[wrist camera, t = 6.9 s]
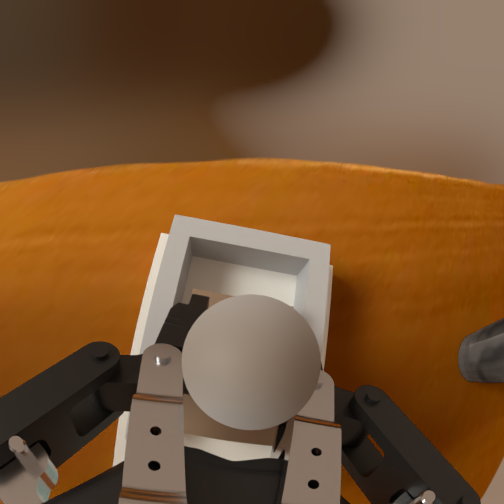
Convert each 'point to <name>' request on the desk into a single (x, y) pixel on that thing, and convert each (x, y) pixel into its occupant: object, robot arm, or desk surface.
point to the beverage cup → (483, 354)
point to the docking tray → (231, 293)
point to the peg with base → (247, 368)
